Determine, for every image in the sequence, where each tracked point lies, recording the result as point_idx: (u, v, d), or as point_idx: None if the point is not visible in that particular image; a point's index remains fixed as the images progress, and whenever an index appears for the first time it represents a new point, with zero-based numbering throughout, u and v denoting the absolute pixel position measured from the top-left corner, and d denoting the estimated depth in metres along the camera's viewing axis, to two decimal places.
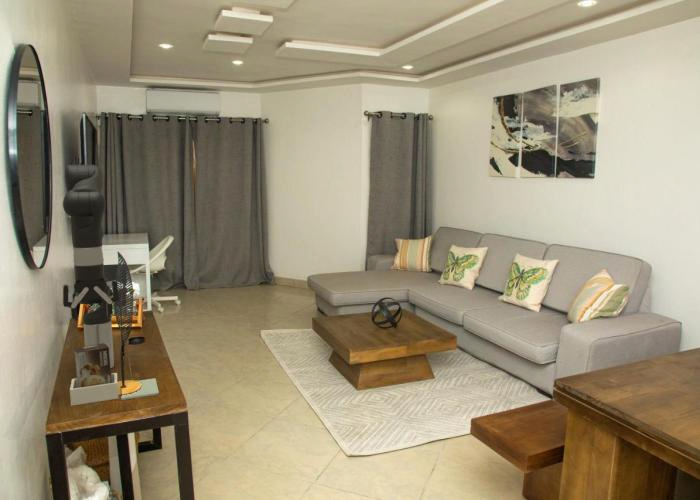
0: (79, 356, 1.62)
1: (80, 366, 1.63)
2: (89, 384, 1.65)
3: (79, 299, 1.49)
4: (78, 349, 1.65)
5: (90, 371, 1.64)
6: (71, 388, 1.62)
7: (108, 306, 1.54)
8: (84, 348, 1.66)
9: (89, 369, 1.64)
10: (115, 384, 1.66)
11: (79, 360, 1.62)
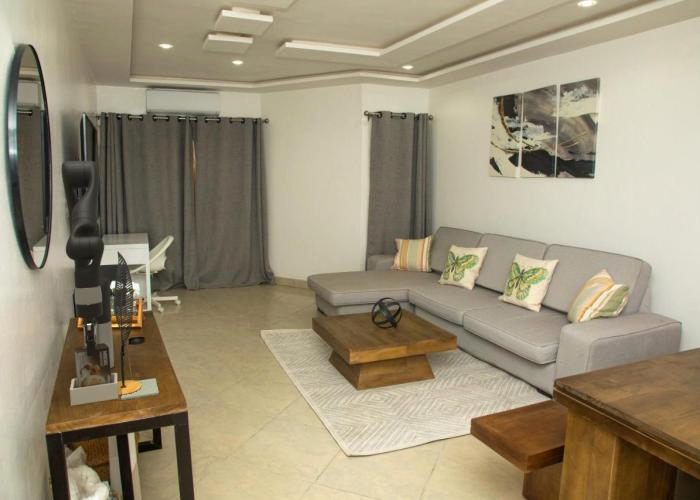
0: (79, 356, 1.62)
1: (80, 366, 1.63)
2: (89, 384, 1.65)
3: (96, 334, 1.64)
4: (78, 349, 1.65)
5: (90, 371, 1.64)
6: (71, 388, 1.62)
7: (95, 338, 1.71)
8: (84, 348, 1.66)
9: (89, 369, 1.64)
10: (115, 384, 1.66)
11: (79, 360, 1.62)
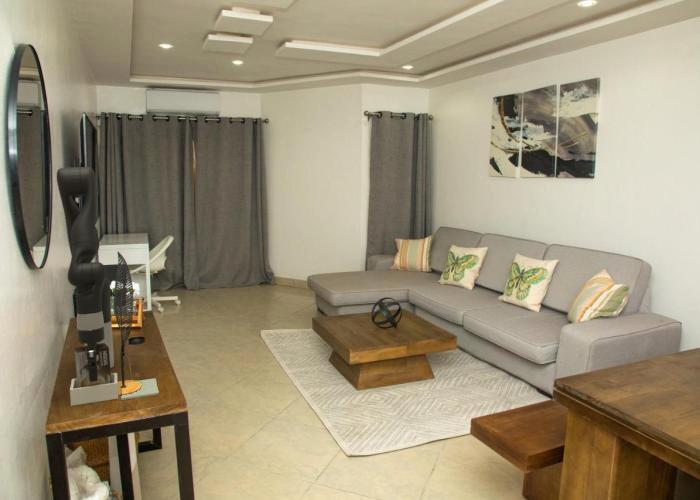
0: (79, 356, 1.62)
1: (80, 366, 1.63)
2: (89, 384, 1.65)
3: (98, 359, 1.65)
4: (78, 349, 1.65)
5: None
6: (71, 388, 1.62)
7: None
8: (84, 348, 1.66)
9: None
10: (115, 384, 1.66)
11: (79, 360, 1.62)
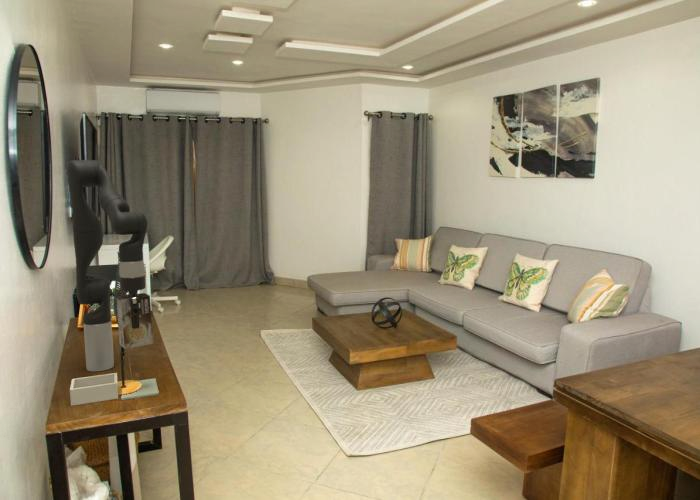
0: (122, 303, 1.66)
1: (123, 313, 1.66)
2: (131, 331, 1.68)
3: None
4: (120, 297, 1.68)
5: None
6: (71, 388, 1.62)
7: None
8: (126, 296, 1.69)
9: None
10: (115, 384, 1.66)
11: (122, 307, 1.66)
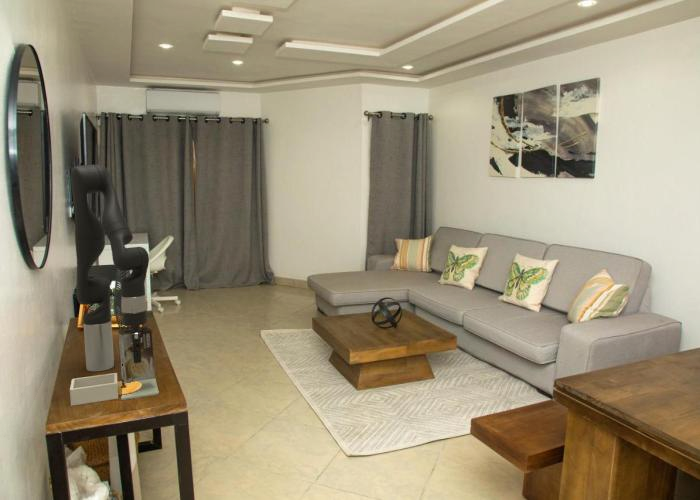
0: (124, 338, 1.67)
1: (125, 348, 1.67)
2: (133, 365, 1.69)
3: None
4: (122, 331, 1.70)
5: None
6: (71, 388, 1.62)
7: None
8: (128, 331, 1.71)
9: None
10: (115, 384, 1.66)
11: (124, 342, 1.67)
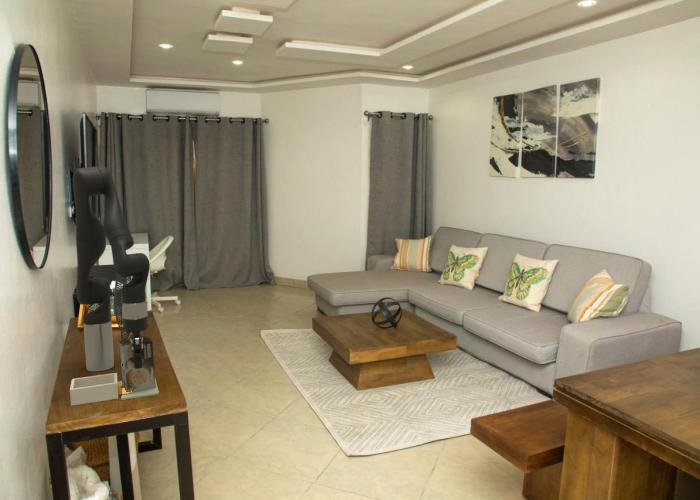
0: (124, 349, 1.67)
1: (125, 358, 1.68)
2: (134, 376, 1.70)
3: (142, 347, 1.70)
4: (123, 342, 1.70)
5: None
6: (71, 388, 1.62)
7: None
8: (129, 341, 1.71)
9: None
10: (115, 384, 1.66)
11: (124, 352, 1.67)
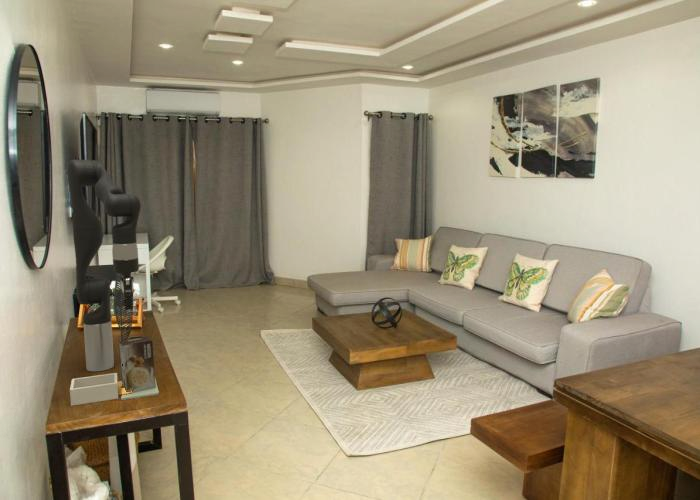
0: (124, 349, 1.67)
1: (125, 358, 1.68)
2: (134, 376, 1.70)
3: (133, 289, 1.69)
4: (123, 342, 1.70)
5: (135, 363, 1.69)
6: (71, 388, 1.62)
7: None
8: (129, 341, 1.71)
9: (134, 361, 1.69)
10: (115, 384, 1.66)
11: (124, 352, 1.67)
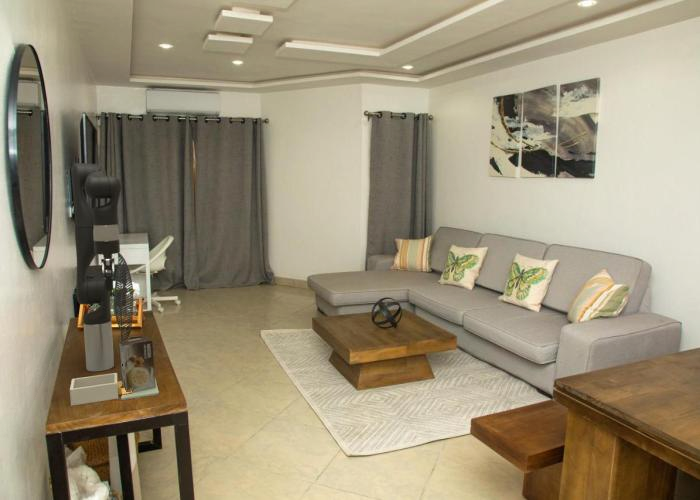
0: (124, 349, 1.67)
1: (125, 358, 1.68)
2: (134, 376, 1.70)
3: None
4: (123, 342, 1.70)
5: (135, 363, 1.69)
6: (71, 388, 1.62)
7: None
8: (129, 341, 1.71)
9: (134, 361, 1.69)
10: (115, 384, 1.66)
11: (124, 352, 1.67)
